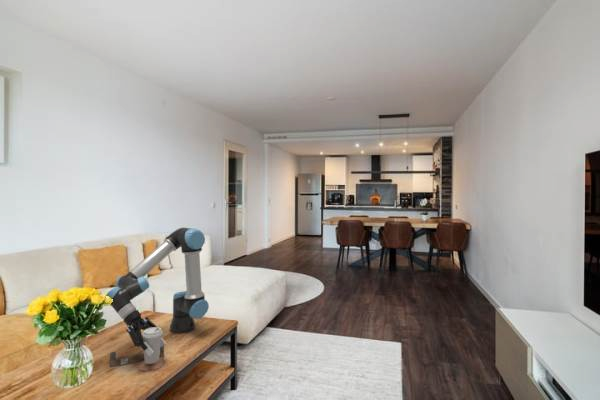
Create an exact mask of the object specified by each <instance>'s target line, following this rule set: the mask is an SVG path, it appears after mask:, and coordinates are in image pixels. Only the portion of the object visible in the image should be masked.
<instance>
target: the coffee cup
mask: <svg viewBox="0 0 600 400" xmlns="http://www.w3.org/2000/svg"><path fill="white" fill-rule="evenodd" d="M141 334H142V337H143V341H144V342H145V341H146V343H147V344H148V345H149V346H150V348H151V349H152V350H153V351H154V352H153V353H152V354H151V355H150V356H149V355H148V354H147V353H146V352H145V351H144V350H143V353H144V360H145V363H146V364H153V363H156V362H158V361H159V358H160V357H159V355H160V346H161V338H162V339H163V334H164V332H163V329H162V328H161V327H158V326H157V327H152V328H148V329H146V330H143V332H142V333H141ZM144 360H143V361H144Z"/></svg>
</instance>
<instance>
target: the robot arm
mask: <svg viewBox="0 0 600 400" xmlns="http://www.w3.org/2000/svg"><path fill="white" fill-rule="evenodd" d="M205 242H206V238H205V234H204V233H203V232H202V231H201V230H199V229H197V228H191V227H181V228H180V227H179V228H177V229H175V230H174V231H172V232H171V233H170V234H169V235H168V236H166V237H165V238H164V239H163V242H162V243H161V244H160V245H158V247H156V248H155V249H154V250H153V251H152V252H151V253H150V254H148V255H147V256H146V257H145V258H144V259H142V260H141V261H140V262H139V263H138V264H137V265H135V267H133V268H132V269H131V270H130V271H129V272H128V273H126V274H123V275H120V276H118V277H117V279H116V282H115V285H116V286H115V287H114V288H112V289H110V290H109V291H108V292H107V293H106V294H105V297H106V296H109V297H110V298H111V299H113V302H112V303H111V304H109V305H110V306H111V307H112V308H113V309H114V311H115V312H116V313H117V315H118V316H119V317H120V318H121V320H123V322H124V324H125V325H126V326H128V327H127V328H126V329H125V331H126V332H127V333H128V334H129V337H130V339H131V341H132V343H133V345H134V346H135V347H138V348H139V347H141V349H142V350H143V352H144V351H145V352H146V353H147V354H148V355H149V356H150V355H151V354H152V353H153V352H154V351H153V350H152V349H151V348H150V346H149V345H148V344H147V343H146V341H145V342H144V341H143V337H142V334H143V333H142V331H144V330H146V329H148V328H152V327H158V326H157V325H156V324H155V323H154V322H152V321H151V320H150V319H149V317H147V316H146V317H145V318H142V314H141V313H140V311H139V310H138V309H137V307H136V305H134V304H133V303H132V300H133V299H135V298H136V297H138V296H140V294H143V293H144V292H145V291H146V290H148V289H149V288H150V283H149V280H148V279H147V278H146V277H145V276H146V275H147V274H149V273H150V272H151V271H152V270H153V269H154V268H156V267H157V266H158V265H159V264H160V263H161V262H162V261H163V260H164V259H165V258H166V257H168V256H169V255H170V254H171V253H172V252H176V251H177V250H178V249H179V248H181V250H180V251H181V253H182V254H183V255H184V268H185V269H184V270H185V284H186V285H185V286H186V290H185V291H179V292H176V293H174V294H173V298H172V301H173V303H172V319H171V321H170V325H169V331H170V332H171V333H174V334H183V333H184V334H185V333H188V332H191V331H193V330H195V329H196V321H195V319H196V320H198V319H199V320H200V319H202V318H203V317H205V315H206V314H207V313H208V311H209V302H208V301H207V299H205V293H204V292H203V290H202V277H201V276H202V274H201V258H200V255H201V254H200V253H201V252H202V251H203V246H204V245H205ZM166 344H167V342H166V341H165V340H164V338H163V337H162V338H161V347H163V346H164V347H165V345H166Z"/></svg>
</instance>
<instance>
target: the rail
mask: <svg viewBox="0 0 600 400" xmlns="http://www.w3.org/2000/svg"><path fill="white" fill-rule="evenodd" d="M164 356H165V345H164V346H163V347H161V346H160V355H159V361H158V362H156V363H153V364H146V363H145V360H144V352H140V353H139V352H138V353H133V354H128V355H122V356H117V352H116V351H112V352H110V354H109V357H110V358H109V367H118V366H122V365H127V364H132V363H138V362H139V363H138V365H137V368H138V370H140V371H143V372H151V371H156V370H158V369H160V368H162V367H164V365H165V363H166V360H165V359H164V358H163V357H164Z"/></svg>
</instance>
